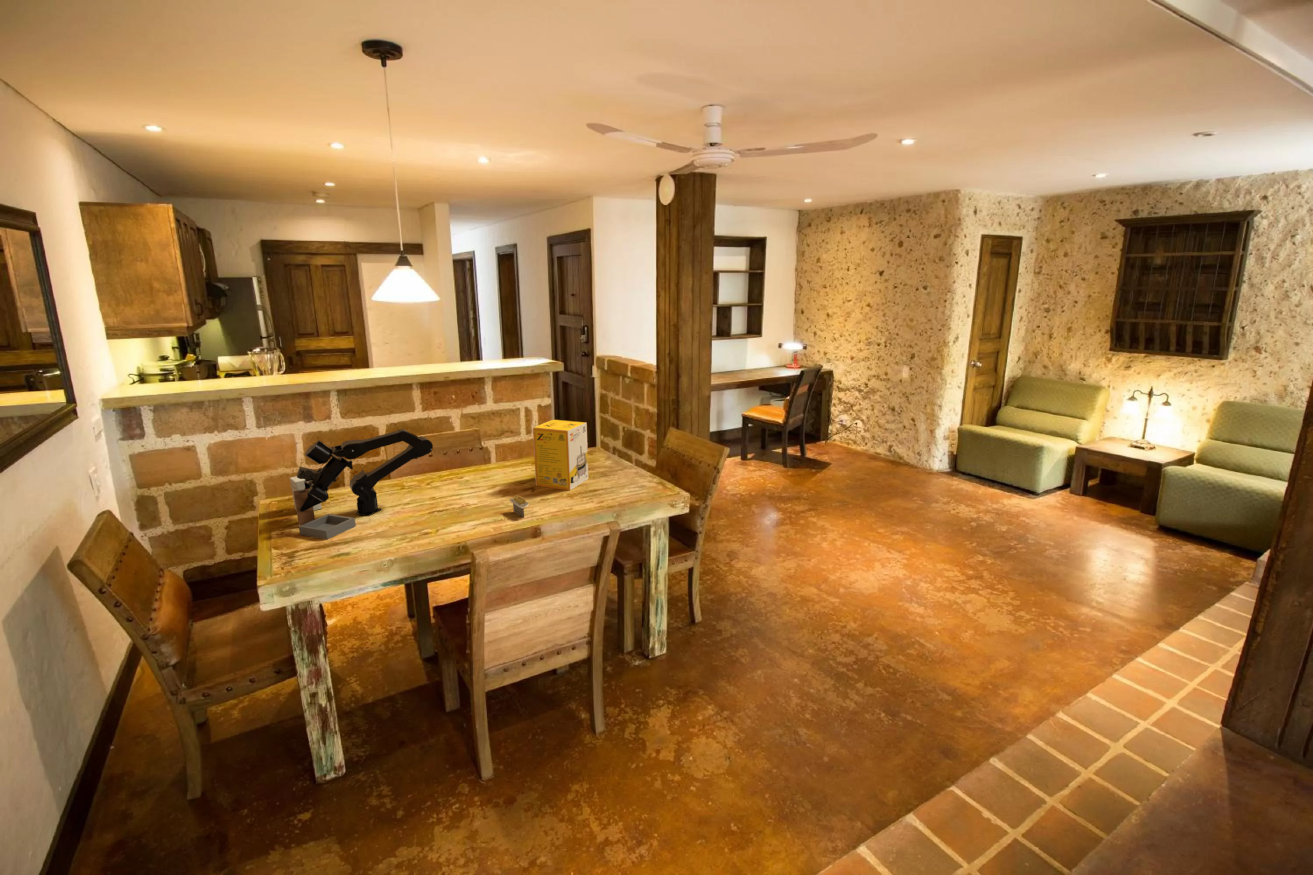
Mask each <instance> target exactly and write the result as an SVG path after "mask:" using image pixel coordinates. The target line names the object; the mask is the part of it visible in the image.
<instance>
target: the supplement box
mask: <svg viewBox="0 0 1313 875" xmlns="http://www.w3.org/2000/svg"><path fill="white" fill-rule="evenodd" d="M304 481H305V479H299V478H297V475H296V476H293V477H289V482H290V487H291V492H292V499H293V505H294V506H293V507H294V509H295V510H296V505H295V499H294V493H293V491H298V490H304V489H305V484H304ZM313 509H314V511H317V510H318V511H319V510H321V509H322V503H320V504H317V505H315V506H313Z"/></svg>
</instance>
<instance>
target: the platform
mask: <svg viewBox="0 0 1313 875" xmlns="http://www.w3.org/2000/svg"><path fill="white" fill-rule="evenodd" d="M509 502H510V503H511V504H512V507H513V508H512V509H513V510H512V511H513V512H514V513H515V514H517V515H519V516H520V517H522V518H525V511H524V510H525V508H527V507H528V506H529V505H530V503H529V502H527V501H526V498H524V497H522V496H520V495H514V496H513V498H511V499H509Z"/></svg>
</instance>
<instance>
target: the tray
mask: <svg viewBox="0 0 1313 875" xmlns="http://www.w3.org/2000/svg"><path fill="white" fill-rule="evenodd" d="M356 524H357V523H356V518H355V517H352V516H351V517H350V516H344V515H343V516H342V515H338V514H333V513H332V514H331V513H328V514H325V515H323V516H320V517H317V518H315V520H313V521H311V522H308V523H306V524H304V525H301V526H299V525H298V530H299V535H300V536H303V537H304V536H305V537H311V538H317V539H322V540H329V539H332V538H333V537H337V536H339V535H341V534H342V533H344V532H347V531H348V530H350V529H354V528H355V527H357V525H356Z"/></svg>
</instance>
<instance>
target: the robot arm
mask: <svg viewBox="0 0 1313 875" xmlns="http://www.w3.org/2000/svg"><path fill="white" fill-rule="evenodd" d="M400 442H404V443H406V444H408V446H407V447H406V448H405V449H404V450H403V451H401V452H399V453H398V454H396V455H395V456H393V457H392V458H390V459H388V460H386V461H385V462H383V463H382V464H380V465H378V466H377V467H376V468H374V469H373V470H371V471H367V472H366V471H365V470H364V469H363V470H360V471H359V473H357V474H355V475H354V474H353V475H352V478H351V479H350V480H349V483H348V484H349V488H350V490H351V492H352V493H353V495H355V496H358V497H356V507H357V508H356V509H357V511H355V515H360V516H361V515H362V516H371V515H374V514H376V513H378V512H380V511H382V508H381V507H379V504H378V496H377V491H376V490H375V489H374V487H375V486H376V485H377V483H378V482H380V481H381V480H382V479H384V478H386V477H387V476H389V475H390V474H392V473H393V472H395V471H396V470H398V469H399V468H401V467H403V466H404V465H406V464H407V463H409V462H411V461H412V460H414V459H418V458H421V457H424V456H426V455H428V454H430V453H432V451H433V449H434V445H433V442H432V441H431V440H430V439H428V438H427V437H426V436H422V435H421V436H418V435H416V434H415V433H412V432H409V431H408V430H406V429H404V428H400V429H398V430H394V431H392V432H388V433H384V434H381V435H377V436H373V437H369V438H367V439H366V438H365V439H351V440H350V439H349V440H346V441H342V443H341V444H339V445H334V446H331V447H330V446H328V445H326V444H325V443H324V442H323V441H321V440H320V439H318V440H317V441H316V442H314V443H313V444H312V445H310V446H309V447H308V448H307V449H306V451H305V453H304V456H305V457H307V458H308V459H310V460H311V461H312V462H315V463H316V464H318V465H324V466H323V467H320V468H318V469H317V470H316V469H312V468H308V467H305V466H299V468H298V470H297V473H296V476H297V478H299V479H305V481H304V484H305V489H309V490H308V491H307V495H308V497H307V499H306V500H305V502H304V503H303V505H302V506H301V508H300V511H301V512H303V511H305V510H307V509H309V508H311V507H313V506H315V505H317V504H320V503H321V504H322V503H323V504H324V503H327V502H326V501H328V500H329V498H330V497H329V493H328V492H329V487H330V486H331V485H332V484H333V483H335V482H337V480H338V479H337V478H339V475H341V474H342V472H343V471H345V469H346V468H349V469H350V470H353V469H354V466H353V460H355V459H357V458H360V457H361V456H363V455H364V454H366V453H368V452H370V451H374V450H376V449H380V448H384V447H386V446H390V445H394V444H397V443H400Z"/></svg>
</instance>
